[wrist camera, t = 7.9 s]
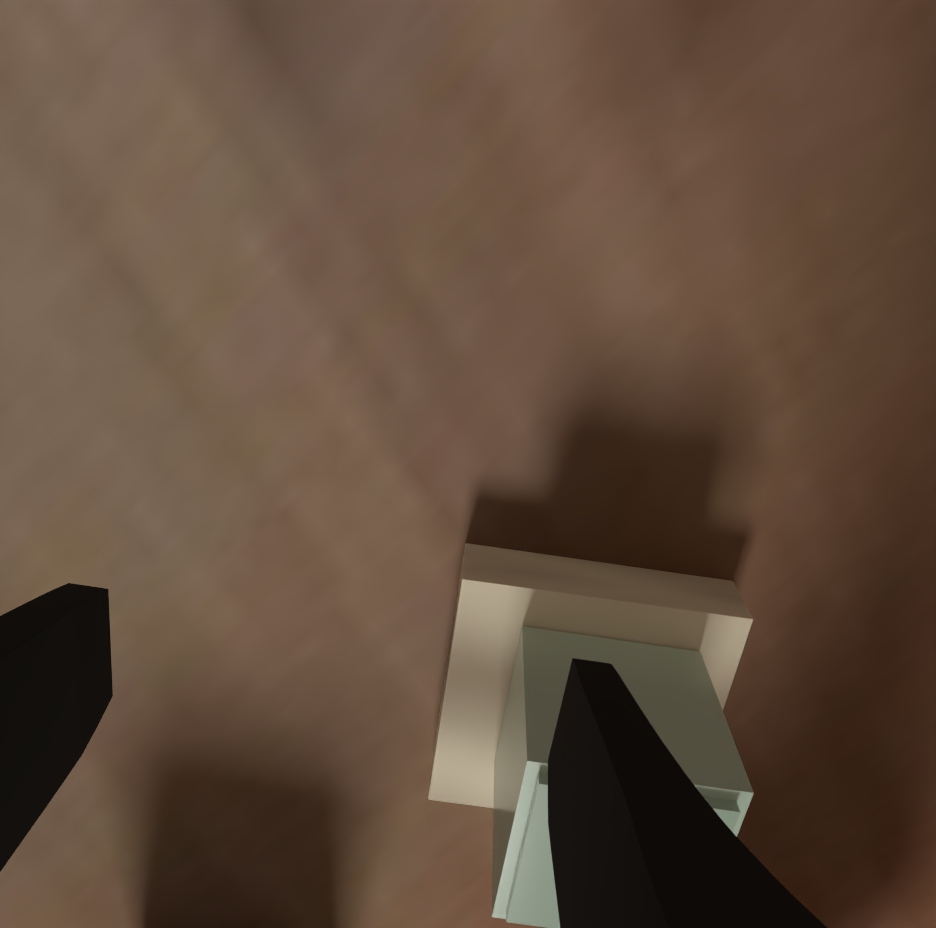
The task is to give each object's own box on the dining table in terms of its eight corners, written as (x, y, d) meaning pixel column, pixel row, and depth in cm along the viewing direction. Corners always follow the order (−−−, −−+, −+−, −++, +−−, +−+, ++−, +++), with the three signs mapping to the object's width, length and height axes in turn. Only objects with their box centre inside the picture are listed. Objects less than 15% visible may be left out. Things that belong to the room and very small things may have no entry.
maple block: (666, 772, 26) (682, 833, 24) (434, 741, 26) (428, 799, 24) (728, 572, 23) (753, 619, 21) (466, 535, 23) (462, 579, 21)
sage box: (657, 785, 23) (697, 957, 19) (494, 762, 23) (491, 928, 18) (700, 651, 21) (757, 803, 17) (521, 625, 21) (527, 771, 17)
